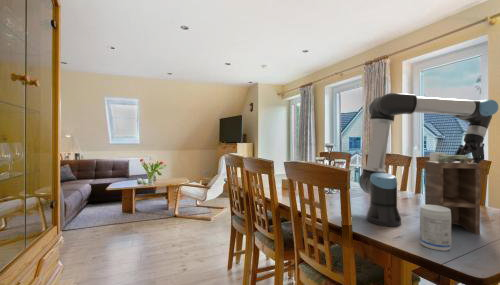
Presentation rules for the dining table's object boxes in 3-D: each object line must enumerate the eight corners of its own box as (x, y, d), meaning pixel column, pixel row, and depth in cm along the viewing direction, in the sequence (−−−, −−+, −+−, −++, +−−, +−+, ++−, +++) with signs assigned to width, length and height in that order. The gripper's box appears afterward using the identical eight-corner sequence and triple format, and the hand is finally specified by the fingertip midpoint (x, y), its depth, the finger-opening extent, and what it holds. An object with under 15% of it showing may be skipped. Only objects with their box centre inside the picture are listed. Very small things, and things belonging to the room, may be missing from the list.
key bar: (447, 161, 112) (447, 153, 113) (429, 160, 129) (429, 152, 130) (457, 162, 112) (457, 153, 112) (438, 160, 128) (438, 152, 129)
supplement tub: (422, 239, 101) (422, 203, 101) (452, 245, 94) (452, 207, 94) (417, 246, 94) (417, 207, 94) (450, 254, 87) (449, 212, 87)
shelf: (439, 231, 109) (438, 155, 109) (425, 221, 123) (425, 154, 123) (479, 234, 105) (479, 156, 105) (460, 223, 119) (460, 154, 119)
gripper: (503, 134, 116) (488, 176, 115) (465, 141, 141) (452, 176, 139) (486, 128, 118) (471, 170, 116) (451, 136, 142) (438, 170, 141)
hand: (461, 173), depth 128 cm, fingers open, 13 cm apart
